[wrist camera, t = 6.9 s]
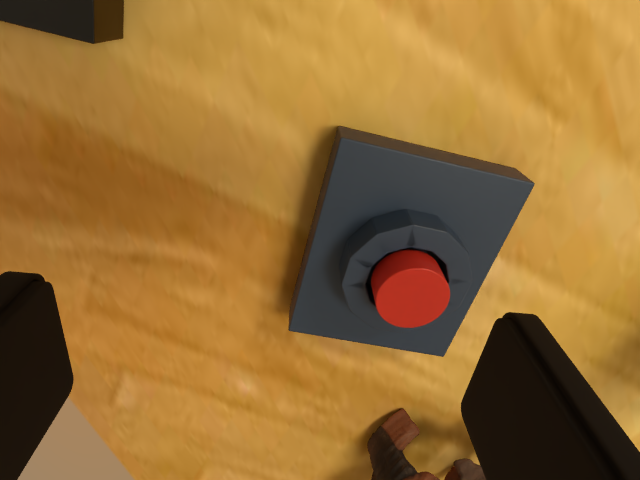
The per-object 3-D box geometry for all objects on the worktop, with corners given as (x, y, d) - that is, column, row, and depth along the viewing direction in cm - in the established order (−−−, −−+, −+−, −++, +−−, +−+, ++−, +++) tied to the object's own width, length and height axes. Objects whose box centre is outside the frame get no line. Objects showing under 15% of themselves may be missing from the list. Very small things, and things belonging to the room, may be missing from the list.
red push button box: (337, 124, 21) (343, 148, 18) (516, 168, 23) (554, 198, 19) (289, 307, 27) (286, 353, 23) (434, 333, 28) (452, 379, 25)
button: (383, 242, 20) (389, 261, 19) (451, 256, 21) (462, 276, 19) (362, 299, 22) (366, 321, 21) (425, 311, 23) (434, 333, 21)
